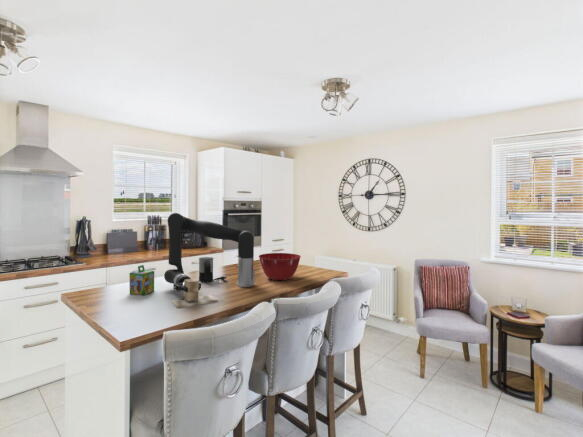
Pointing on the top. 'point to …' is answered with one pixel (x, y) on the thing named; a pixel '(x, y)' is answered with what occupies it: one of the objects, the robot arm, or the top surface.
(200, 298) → the board
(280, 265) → the mixing bowl
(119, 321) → the top surface
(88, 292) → the top surface
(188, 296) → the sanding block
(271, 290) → the top surface
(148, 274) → the green patterned box
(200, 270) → the milk frother
